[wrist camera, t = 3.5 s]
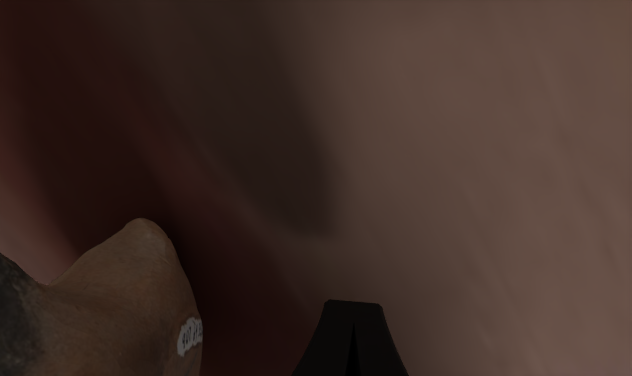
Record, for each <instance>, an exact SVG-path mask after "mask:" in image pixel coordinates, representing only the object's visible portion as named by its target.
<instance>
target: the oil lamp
mask: <svg viewBox="0 0 632 376" xmlns="http://www.w3.org/2000/svg"><path fill="white" fill-rule="evenodd" d="M202 345H203V327H202V321H201V317H200V314H199V312H198V310H197V306H196V301H195V298H194V295H193V292H192V289H191V286H190V283H189V280H188V278H187V277H186V275H185V273H184V271H183V268H182V266H181V264H180V261H179V259H178V256H177V253H176V251H175V248H174V246H173V244H172V242H171V240H170V239H169V238H168V237H167V235H166V233H165V232H164V231H163V230H162V229H161V228H160V227H159V226H158V225H157V224H156V223H155V222H153V221H150V220H148V219H145V218H137V219H134V220H132V221H130V222H129V223H127V224H126V225H125V227H124V228H123V229H122V230H120V231H119V232H118V233H116V234H115V235H113V236H111V237H110V238H108V239H107V240H106V241H104V242H103V243H101V244H99V245H97V246H95V247H93V248H92V249H90V250H88V251H87V252H85V253H84V254H83V255H82V256H81V257H80V258H79V259H78V260H77V261H76V262H75V263H74V264H73V265H72V266H71V267H70V268H69V269H68V270H67V271H66V272H64V273H63V274H62V275H61V276H60V277H58V278H57V279H55V280H54V281H53V282H51V283H50V284H49V285H48V286H47V285H44V284H41V283H38V282H36V281H35V280H34V279H33V278H31V277H30V276H29V275H28V274H26V273H25V272H24V271H23V270H22V269H21V268H20V267H19V266H18V265H17V264H16V263H15V262H13V261H12V260H10V259H9V258H7V257H6V256H4V255H3V254H1V253H0V376H199V371H200V365H201V358H202Z"/></svg>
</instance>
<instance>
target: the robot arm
mask: <svg viewBox="0 0 632 376" xmlns="http://www.w3.org/2000/svg"><path fill="white" fill-rule="evenodd" d="M291 376H409V375H408V373H407V371H406V369H405V367H404V365H403V363H402V360H401V358H400V356H399V354H398V352H397V349H396V347H395V345H394V342H393V340H392V337H391V334H390V332H389V329H388V326H387V323H386V320H385V316H384V313H383V308H382V307H381V306H380V305H379V304H375V303H364V302H352V301H340V300H328V301H327V302H325V303H324V308H323V312H322V315H321V318H320V321H319V323H318V326H317V328H316V330H315V333H314V335H313V337H312V339H311V341H310V343H309V345H308V347H307V349H306V351H305V353H304V355H303V357H302V358H301V360H300V362H299V364H298V365H297V367H296V369H295V370H294V372H293V374H292V375H291Z"/></svg>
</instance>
